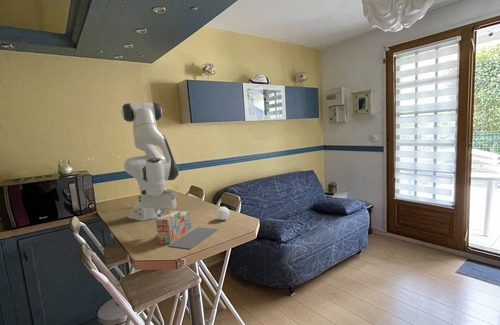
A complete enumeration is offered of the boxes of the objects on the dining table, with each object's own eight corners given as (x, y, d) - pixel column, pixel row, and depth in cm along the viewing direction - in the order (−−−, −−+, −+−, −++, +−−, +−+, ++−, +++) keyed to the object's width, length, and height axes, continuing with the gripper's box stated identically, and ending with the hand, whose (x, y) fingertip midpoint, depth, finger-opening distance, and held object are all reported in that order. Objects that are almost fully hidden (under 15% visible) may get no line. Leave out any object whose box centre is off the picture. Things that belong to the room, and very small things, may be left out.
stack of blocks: (180, 227, 146) (178, 205, 145) (191, 227, 145) (188, 205, 144) (158, 244, 126) (155, 218, 124) (170, 244, 124) (167, 218, 123)
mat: (168, 246, 122) (168, 245, 122) (198, 227, 144) (198, 227, 144) (190, 249, 117) (190, 248, 117) (217, 229, 139) (217, 228, 139)
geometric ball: (222, 223, 157) (224, 210, 161) (231, 220, 152) (232, 207, 156) (212, 219, 152) (213, 206, 156) (221, 216, 147) (222, 203, 151)
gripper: (177, 189, 134) (180, 216, 136) (146, 188, 143) (149, 213, 144) (169, 192, 129) (172, 220, 130) (137, 191, 137) (140, 217, 138)
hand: (160, 216), depth 137 cm, fingers closed
